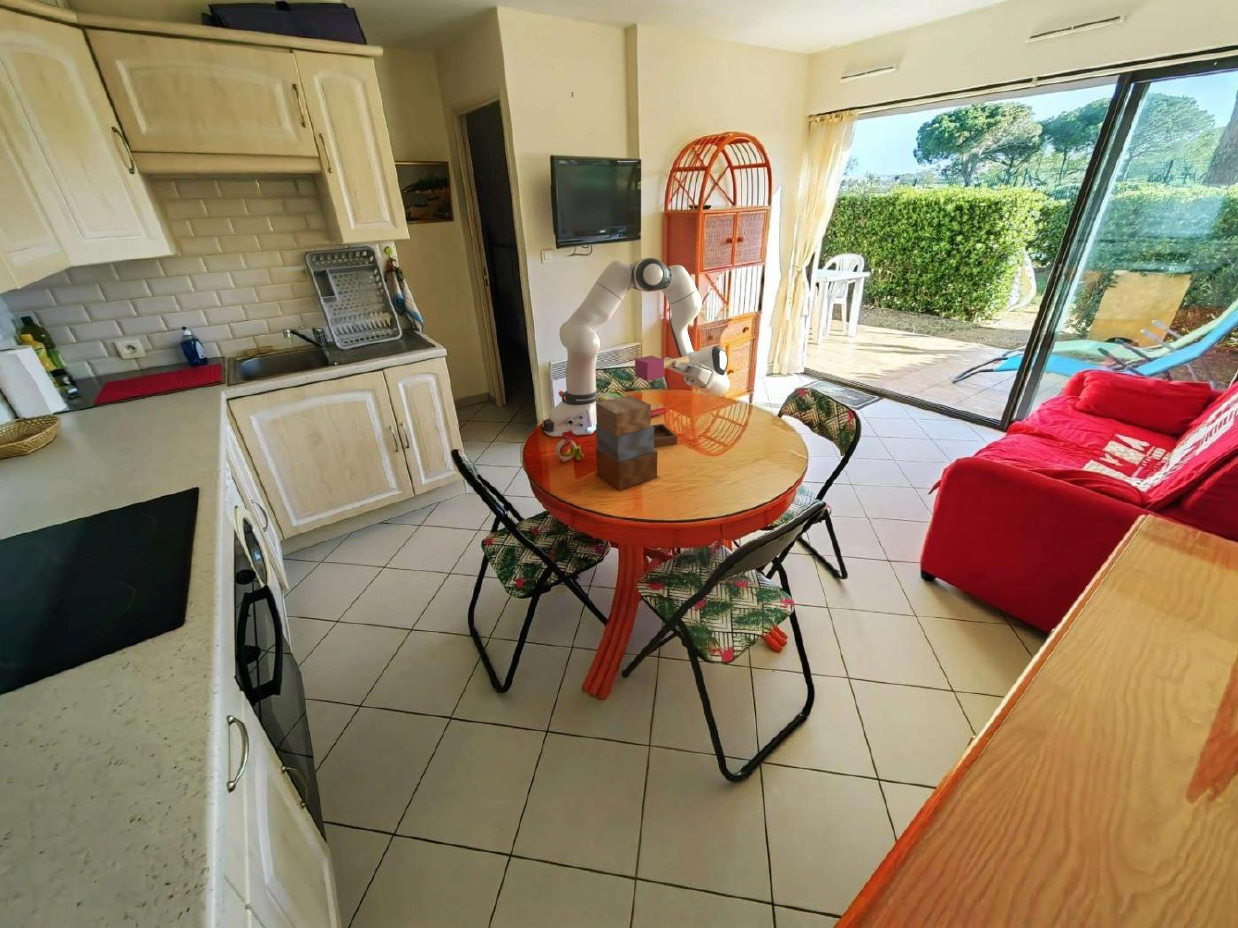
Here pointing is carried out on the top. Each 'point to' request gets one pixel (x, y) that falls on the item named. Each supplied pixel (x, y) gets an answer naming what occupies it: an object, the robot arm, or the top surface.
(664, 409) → the candy bar
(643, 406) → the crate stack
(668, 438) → the walnut tray
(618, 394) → the puzzle game
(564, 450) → the bird rattle
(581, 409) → the robot arm
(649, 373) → the mulberry block
